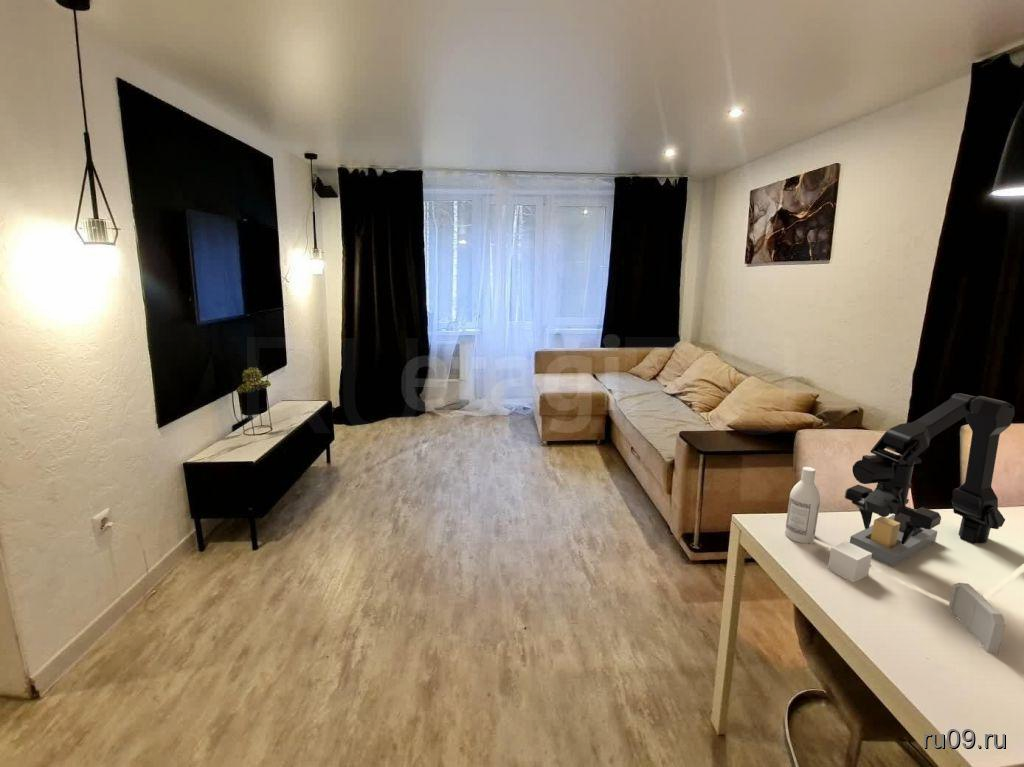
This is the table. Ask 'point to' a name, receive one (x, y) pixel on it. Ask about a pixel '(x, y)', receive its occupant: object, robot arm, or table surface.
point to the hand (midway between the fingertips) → (884, 536)
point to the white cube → (849, 561)
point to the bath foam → (803, 508)
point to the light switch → (977, 616)
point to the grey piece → (900, 550)
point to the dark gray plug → (903, 522)
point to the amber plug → (885, 531)
